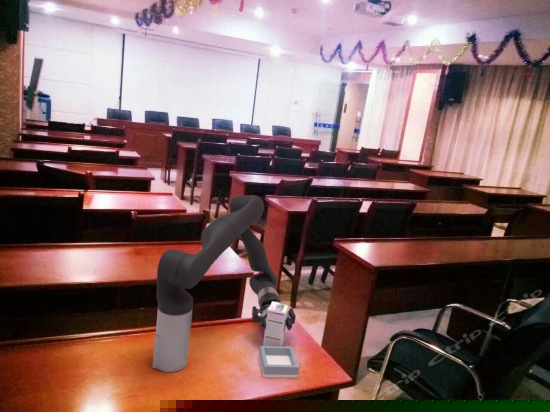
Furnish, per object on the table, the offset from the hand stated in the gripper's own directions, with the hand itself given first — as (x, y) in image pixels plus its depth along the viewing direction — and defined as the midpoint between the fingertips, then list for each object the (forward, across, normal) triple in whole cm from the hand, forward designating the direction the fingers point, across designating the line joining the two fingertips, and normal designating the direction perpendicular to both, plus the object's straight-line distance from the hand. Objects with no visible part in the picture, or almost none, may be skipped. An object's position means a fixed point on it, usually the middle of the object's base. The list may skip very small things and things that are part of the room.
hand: (277, 327), depth 124 cm
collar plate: (+7, 0, +8) cm, 11 cm away
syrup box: (-2, 0, +9) cm, 9 cm away
